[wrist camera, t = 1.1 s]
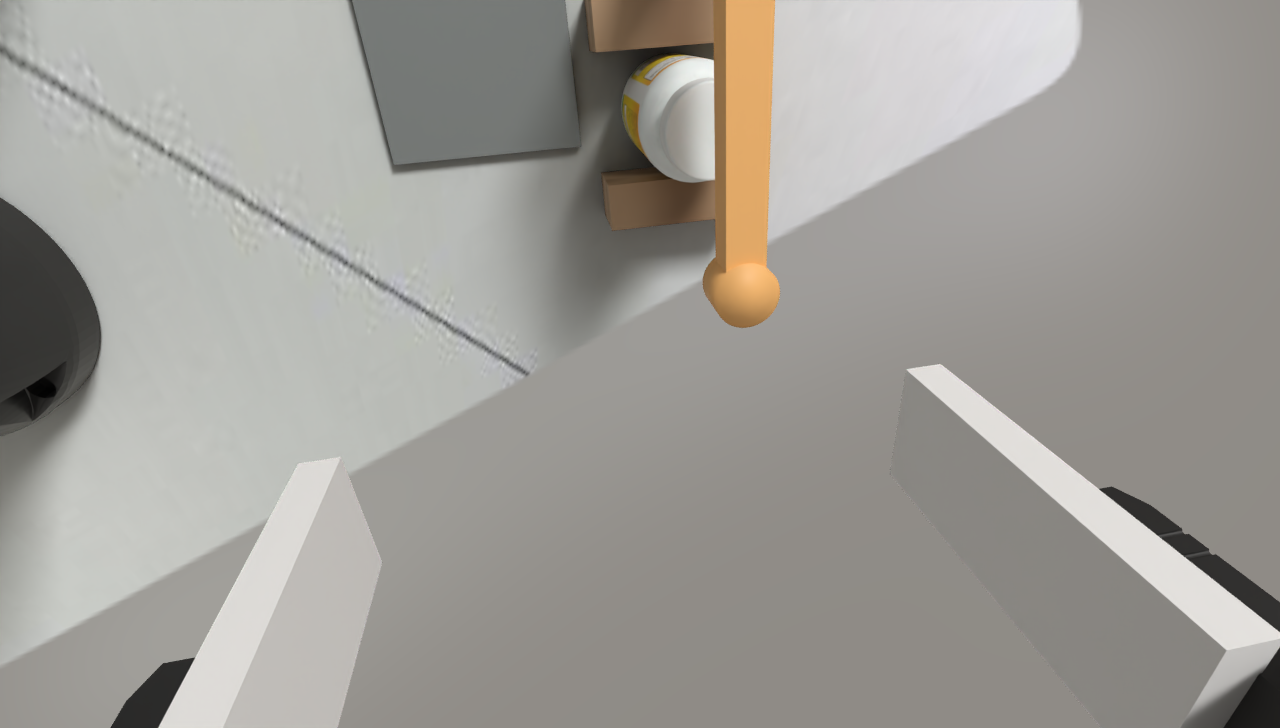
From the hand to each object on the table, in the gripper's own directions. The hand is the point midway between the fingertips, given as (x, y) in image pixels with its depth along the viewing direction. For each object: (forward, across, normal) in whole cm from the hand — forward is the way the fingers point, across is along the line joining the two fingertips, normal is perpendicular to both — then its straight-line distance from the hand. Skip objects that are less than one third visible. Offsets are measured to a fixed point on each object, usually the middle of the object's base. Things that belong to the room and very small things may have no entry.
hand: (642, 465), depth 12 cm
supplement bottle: (+26, +6, +4) cm, 27 cm away
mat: (+26, -4, +7) cm, 27 cm away
